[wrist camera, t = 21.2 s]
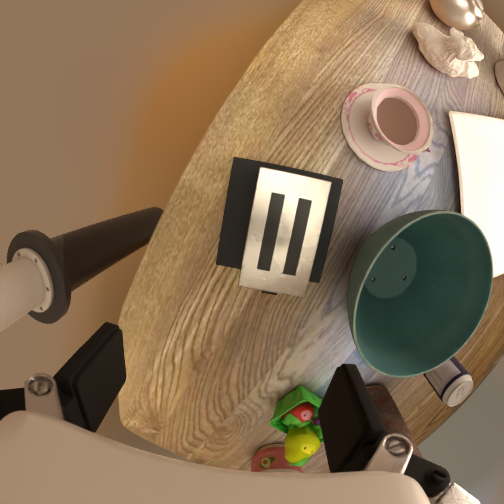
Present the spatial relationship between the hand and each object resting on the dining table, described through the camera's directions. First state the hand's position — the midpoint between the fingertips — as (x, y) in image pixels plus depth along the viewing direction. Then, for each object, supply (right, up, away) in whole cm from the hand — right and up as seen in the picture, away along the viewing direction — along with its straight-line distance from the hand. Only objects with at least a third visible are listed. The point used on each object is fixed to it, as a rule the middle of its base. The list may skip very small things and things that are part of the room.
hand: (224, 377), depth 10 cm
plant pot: (+19, +3, +23) cm, 31 cm away
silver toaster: (+4, +9, +21) cm, 23 cm away
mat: (+4, +9, +22) cm, 24 cm away
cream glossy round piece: (+33, +45, +12) cm, 57 cm away
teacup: (+18, +21, +19) cm, 33 cm away
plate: (+43, +14, +20) cm, 49 cm away
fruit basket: (+10, -21, +30) cm, 38 cm away
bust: (+28, +34, +15) cm, 47 cm away
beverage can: (+31, -12, +27) cm, 43 cm away
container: (+6, -36, +34) cm, 50 cm away
